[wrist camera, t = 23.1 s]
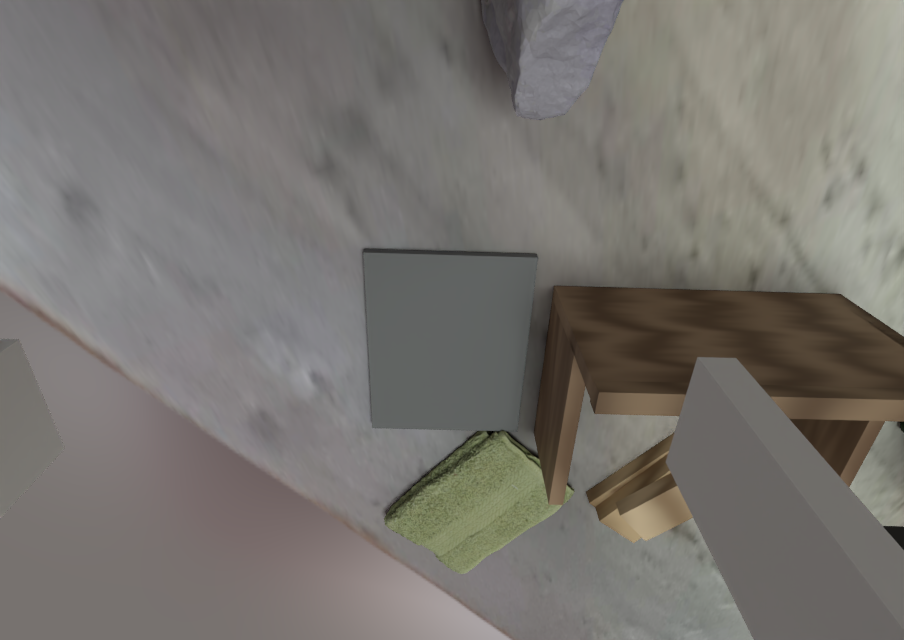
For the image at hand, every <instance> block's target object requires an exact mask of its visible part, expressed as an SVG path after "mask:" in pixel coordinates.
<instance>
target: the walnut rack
mask: <svg viewBox="0 0 904 640" xmlns="http://www.w3.org/2000/svg"><path fill="white" fill-rule="evenodd" d="M697 357H715V358H737V360H738V361H739V362H740V363H741V364H742V365H743V366H744V368H745V369H746V370H747V371H748V372H749V373H750V374H751V376H752V377H753V378H754V379H755V380H756V381H757V382H758V384H759V385H760V386H761V387H762V388H763V389H764V390H765V392H766V393H767V394H768V395H769V396H770V397H771V399H772V400H773V401H774V402H775V403H776V404H777V405H778V407H779V408H780V409H781V410H782V411H783V412H784V413H785V415H786V416H787V417H788V418H789V419H790V420H791V421H792V423H793V424H794V425H795V426H796V427H797V428H798V430H799V431H800V432H801V433H802V434H803V435H804V436H805V438H806V439H807V440H808V441H809V442H810V443H811V444H812V446H813V447H814V448H815V449H816V450H817V451H818V452H819V454H820V455H821V456H822V457H823V458H824V459H825V461H826V462H827V463H828V464H829V465H830V466H831V467H832V469H833V470H834V471H835V472H836V473H837V474H838V475H839V477H840V478H841V479H842V480H843V481H844V482H845V483H846V485H847V486H848V487H850V485H851V483H852V481H853V479H854V478H855V476H856V474H857V472H858V470H859V468H860V466H861V465H862V463H863V461H864V459H865V457H866V455H867V454H868V452H869V450H870V448H871V446H872V444H873V443H874V441H875V439H876V437H877V435H878V433H879V432H880V430H881V428H882V426H883V424H884V422H885V421H900V422H904V337H903V336H902V335H900V334H899V333H897V332H896V331H894V330H893V329H891V328H890V327H888V326H887V325H885V324H884V323H883V322H881V321H880V320H878V319H877V318H875V317H874V316H872V315H871V314H869V313H868V312H866V311H865V310H863V309H862V308H860V307H859V306H857V305H856V304H854V303H853V302H851V301H850V300H848V299H847V298H845V297H844V296H842V295H841V294H820V293H786V292H751V291H717V290H682V289H647V288H613V287H578V286H554V291H553V298H552V306H551V313H550V320H549V327H548V335H547V342H546V349H545V356H544V363H543V371H542V378H541V385H540V392H539V400H538V407H537V414H536V421H535V429H534V436H535V441H536V445H537V450H538V455H539V460H540V465H541V470H542V475H543V479H544V484H545V489H546V494H547V499H548V504H549V505H563V502H564V497H565V491H566V486H567V481H568V476H569V470H570V465H571V460H572V454H573V449H574V444H575V438H576V433H577V428H578V422H579V417H580V412H581V407H582V401H583V396H584V391H585V386H586V388H587V391H588V394H589V396H590V403H591V405H592V408H593V411H594V413H595V414H620V415H660V416H680V413H681V410H682V407H683V403H684V400H685V397H686V393H687V390H688V387H689V383H690V380H691V377H692V374H693V370H694V367H695V364H696V360H697Z"/></svg>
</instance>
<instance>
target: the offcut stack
mask: <svg viewBox="0 0 904 640" xmlns="http://www.w3.org/2000/svg"><path fill="white" fill-rule="evenodd" d="M673 436H674V433H673V434H672V435H670V436H669V437H667V438H666V439H664V440H663V441H661V442H660V443H658V444H657V445H655V446H654V447H652V448H651V449H649V450H648V451H646V452H645V453H643V454H642V455H640V456H639V457H637V458H636V459H634V460H633V461H632V462H630V463H629V464H627V465H626V466H624V467H623V468H621V469H620V470H618V471H617V472H615V473H614V474H612V475H611V476H609V477H608V478H606V479H605V480H603V481H602V482H600V483H599V484H597V485H596V486H594V487H593V488H591V489H590V490H588V491H587V492H586V493H587V496H588V500H589V503H590V504H591V505H593V506H594V507H595V508H596V511H597V514H598V518H599V521H600V522H602V523H603V524H605V525H606V526H608V527H609V528H611V529H613V530H614V531H616V532H617V533H619V534H620V535H622V536H623V537H625V538H627V539H628V540H630V541H631V542H633V543H634V542H636V541H637V540H639V539H640V538H643V539H644V540H645V541H647V540H649V539H651V538H653V537H655V536H657V535H659V534H661V533H663V532H665V531H667V530H669V529H671V528H673V527H675V526H677V525H679V524H681V523H683V522H685V521H687V520H689V519H691V518H693V516H692V514H691V512H690V510H689V508H688V506H687V504H686V502H685V500H684V498H683V496H682V494H681V492H680V490H679V488H678V486H677V484H676V482H675V480H674V478H673V476H672V474H671V472H670V470H669V468H668V466H667V464H666V459H667V456H668V453H669V449H670V446H671V443H672V439H673Z"/></svg>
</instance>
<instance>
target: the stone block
mask: <svg viewBox="0 0 904 640" xmlns="http://www.w3.org/2000/svg"><path fill="white" fill-rule="evenodd" d="M622 2H623V0H481V5H482V15H483V22H484V25H485V27H486V28H487V31H488V35H489V40H490V44H491V47H492V49H493V52H494V55H495V57H496V59H497V61H498V63H499V64H500V66H501V67H502V69H503V70H504V71H505V72H507V78H508V82H509V86H510V89H511V92H512V102H513V106H514V109H515V111H516V115H517V116H521V117H523V118H529V119H536V120H542V119H545V118H552V117H553V118H554V117H556V116H559V115H565V114H566V113H567V112H568V110H569V109H570V108H571V106H572V105H573V104H574V103H575V101H576V100H577V99H578V97H579V96H580V95H581V94H582V93H583V92H584V91H585V90H586V89H587V88H588V86H589V84H590V82H591V79H592V76H593V73H594V70H595V67H596V65H597V63H598V60H599V58H600V55H601V52H602V50H603V47H604V45H605V43H606V41H607V38H608V36H609V35H610V33H611V31H612V29H613V26H614V23H615V20H616V18H617V16H618V13H619V10H620V7H621V4H622Z"/></svg>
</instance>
